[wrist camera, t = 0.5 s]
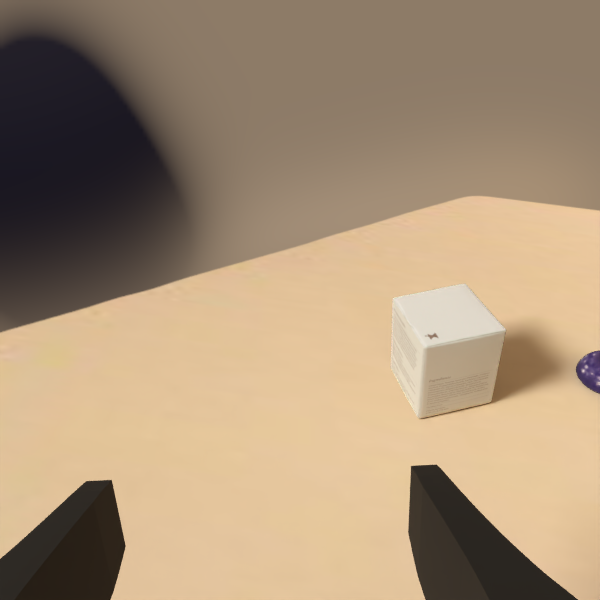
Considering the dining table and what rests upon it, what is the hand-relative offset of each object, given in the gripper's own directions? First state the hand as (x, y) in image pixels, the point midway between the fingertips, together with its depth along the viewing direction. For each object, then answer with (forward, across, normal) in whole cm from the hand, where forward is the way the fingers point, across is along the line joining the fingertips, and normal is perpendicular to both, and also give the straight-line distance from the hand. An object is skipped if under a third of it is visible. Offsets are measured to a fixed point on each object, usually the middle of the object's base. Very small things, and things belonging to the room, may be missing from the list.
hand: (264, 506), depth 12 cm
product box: (+25, -12, +12) cm, 30 cm away
